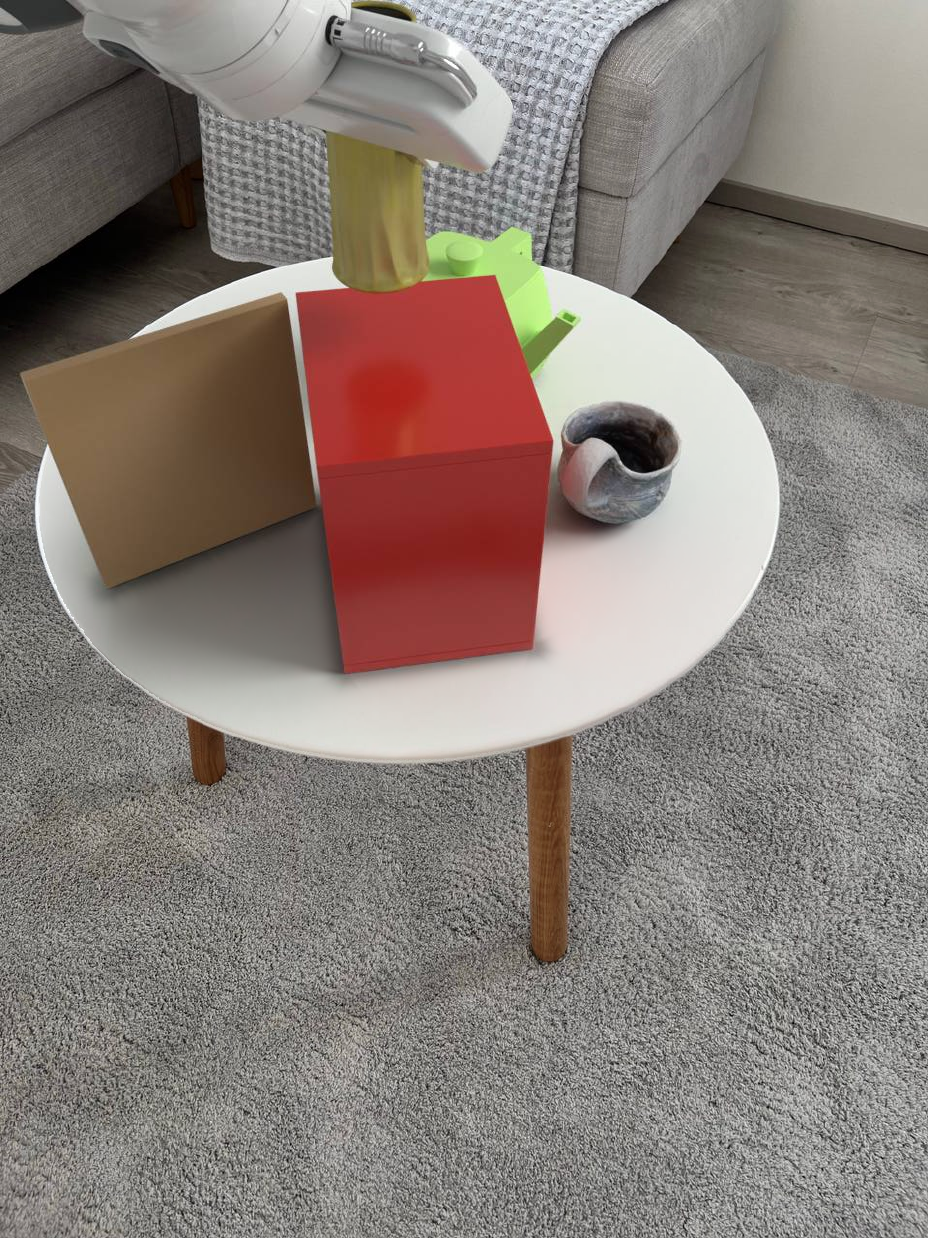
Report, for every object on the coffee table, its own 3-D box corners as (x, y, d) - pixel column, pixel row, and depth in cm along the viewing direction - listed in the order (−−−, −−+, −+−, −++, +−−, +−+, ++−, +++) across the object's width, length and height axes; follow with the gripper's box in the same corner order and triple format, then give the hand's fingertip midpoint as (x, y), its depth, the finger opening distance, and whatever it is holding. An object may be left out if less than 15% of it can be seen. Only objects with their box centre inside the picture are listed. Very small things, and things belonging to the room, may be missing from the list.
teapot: (618, 363, 98) (637, 237, 88) (505, 479, 87) (512, 351, 77) (460, 300, 104) (460, 177, 94) (337, 402, 94) (323, 274, 84)
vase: (435, 245, 65) (432, -2, 54) (423, 298, 61) (417, 44, 50) (341, 239, 66) (319, -7, 55) (324, 292, 62) (296, 39, 51)
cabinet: (344, 674, 74) (316, 466, 58) (323, 503, 85) (295, 291, 70) (533, 649, 75) (553, 440, 60) (487, 485, 87) (495, 274, 71)
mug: (681, 482, 87) (704, 387, 79) (639, 582, 80) (658, 488, 72) (575, 452, 89) (586, 357, 82) (524, 546, 82) (531, 451, 74)
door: (80, 538, 82) (-4, 328, 67) (285, 462, 88) (250, 254, 73) (106, 589, 79) (23, 380, 63) (317, 507, 85) (287, 298, 69)
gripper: (476, -25, 41) (563, 125, 54) (95, -107, 48) (255, 45, 61) (422, 130, 42) (520, 241, 55) (55, 29, 48) (221, 150, 61)
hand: (379, 138), depth 58 cm, fingers closed on vase, 5 cm apart
